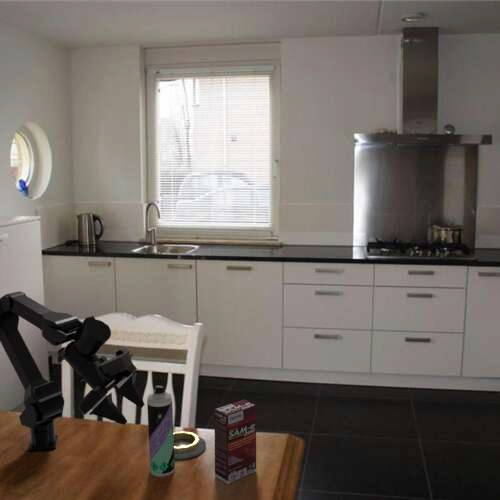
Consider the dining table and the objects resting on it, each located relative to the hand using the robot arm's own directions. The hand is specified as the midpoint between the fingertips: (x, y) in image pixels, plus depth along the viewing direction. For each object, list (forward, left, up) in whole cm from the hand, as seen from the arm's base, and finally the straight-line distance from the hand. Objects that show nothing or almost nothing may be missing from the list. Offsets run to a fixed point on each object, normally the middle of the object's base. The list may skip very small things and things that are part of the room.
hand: (134, 414), depth 141 cm
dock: (-8, +11, -13) cm, 18 cm away
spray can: (+2, +6, -13) cm, 14 cm away
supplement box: (+7, +22, -13) cm, 26 cm away
